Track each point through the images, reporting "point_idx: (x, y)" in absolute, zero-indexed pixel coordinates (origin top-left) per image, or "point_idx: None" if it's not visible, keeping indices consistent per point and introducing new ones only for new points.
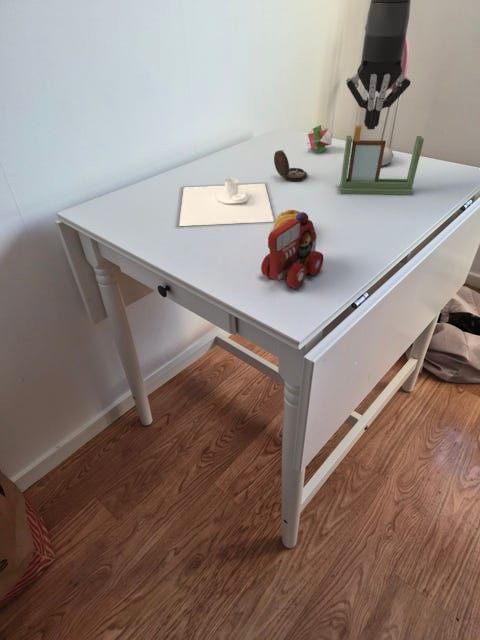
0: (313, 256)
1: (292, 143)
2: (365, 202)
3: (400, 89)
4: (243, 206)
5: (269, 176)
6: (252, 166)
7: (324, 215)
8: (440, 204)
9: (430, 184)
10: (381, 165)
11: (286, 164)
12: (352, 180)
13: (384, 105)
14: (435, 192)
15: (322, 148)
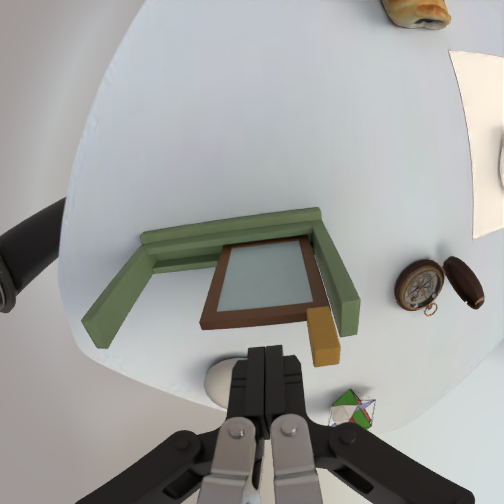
0: None
1: (385, 408)
2: (250, 162)
3: (118, 499)
4: (501, 124)
5: None
6: (473, 312)
7: (354, 72)
8: (87, 195)
9: None
10: (224, 360)
11: (464, 265)
12: (294, 242)
13: (206, 443)
14: (102, 253)
15: (342, 401)
